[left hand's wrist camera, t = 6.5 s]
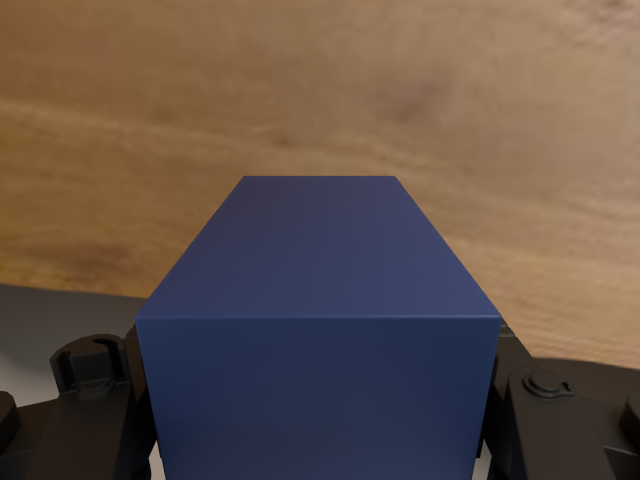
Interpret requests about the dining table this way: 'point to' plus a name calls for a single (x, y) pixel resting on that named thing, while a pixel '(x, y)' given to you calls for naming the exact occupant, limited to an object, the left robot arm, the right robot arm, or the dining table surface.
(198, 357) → the blue rectangular block
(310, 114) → the dining table surface
